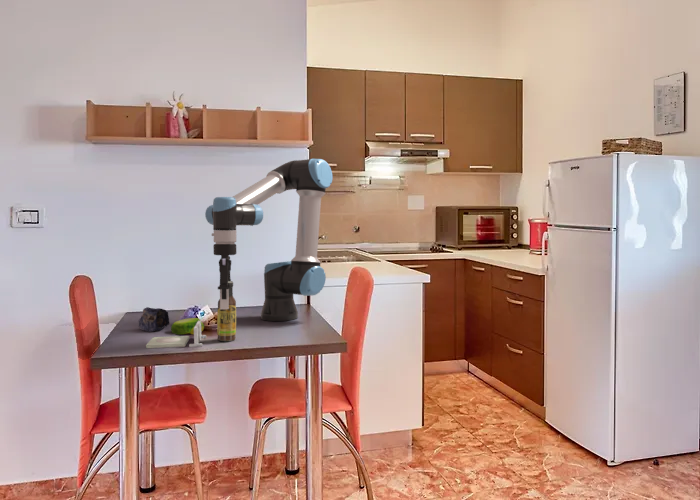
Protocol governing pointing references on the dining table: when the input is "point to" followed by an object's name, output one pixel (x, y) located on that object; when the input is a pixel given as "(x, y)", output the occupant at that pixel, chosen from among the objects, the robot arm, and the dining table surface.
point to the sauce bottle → (227, 318)
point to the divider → (197, 335)
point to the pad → (168, 342)
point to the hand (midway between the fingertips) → (225, 306)
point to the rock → (153, 319)
